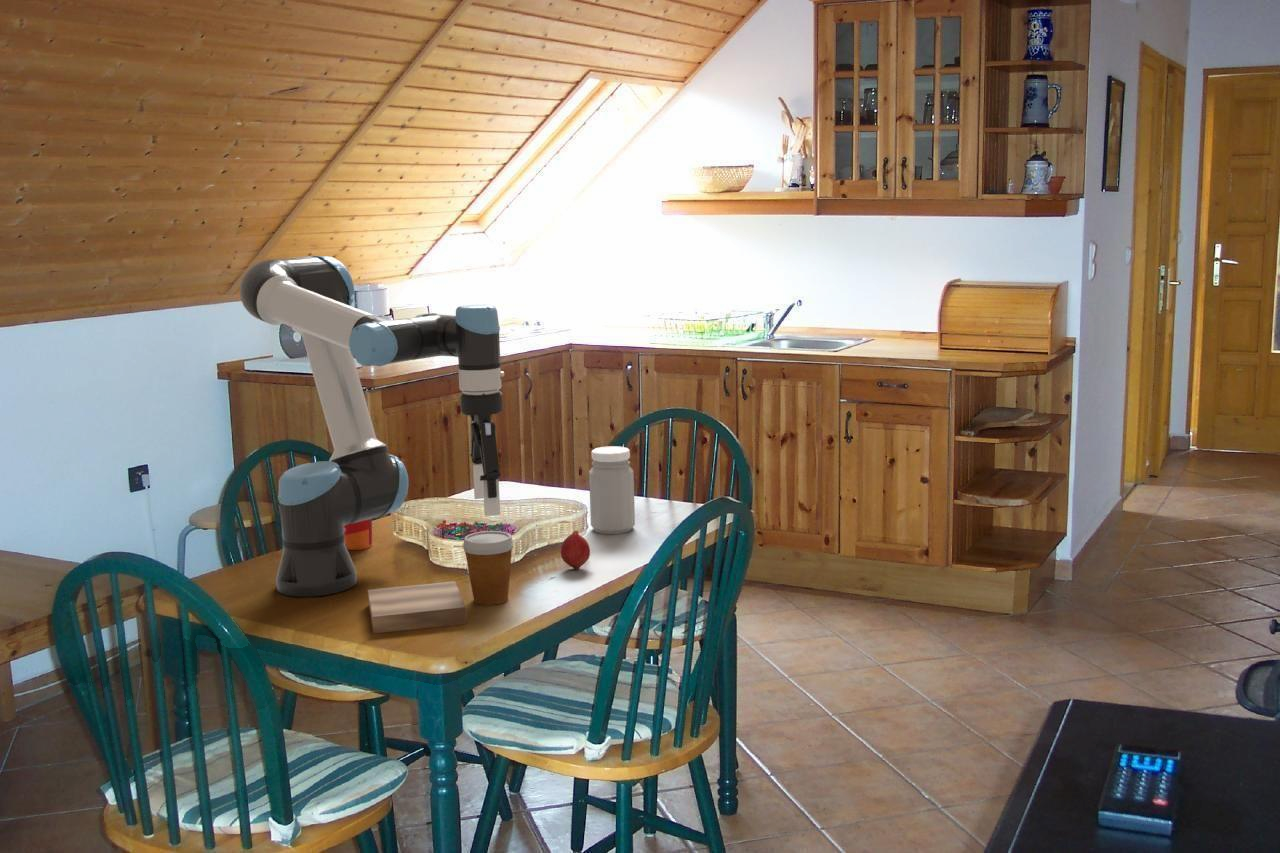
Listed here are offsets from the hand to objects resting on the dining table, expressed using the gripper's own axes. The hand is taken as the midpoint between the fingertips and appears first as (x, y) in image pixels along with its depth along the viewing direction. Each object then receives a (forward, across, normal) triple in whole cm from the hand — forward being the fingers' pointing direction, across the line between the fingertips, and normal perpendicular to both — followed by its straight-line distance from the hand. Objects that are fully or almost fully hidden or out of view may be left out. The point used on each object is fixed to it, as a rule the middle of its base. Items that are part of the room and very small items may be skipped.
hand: (487, 506), depth 238 cm
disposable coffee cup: (+18, 0, 0) cm, 18 cm away
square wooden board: (+18, -4, +14) cm, 23 cm away
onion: (+18, +14, -19) cm, 30 cm away
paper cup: (+18, +46, +22) cm, 54 cm away
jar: (+18, +41, -33) cm, 56 cm away
